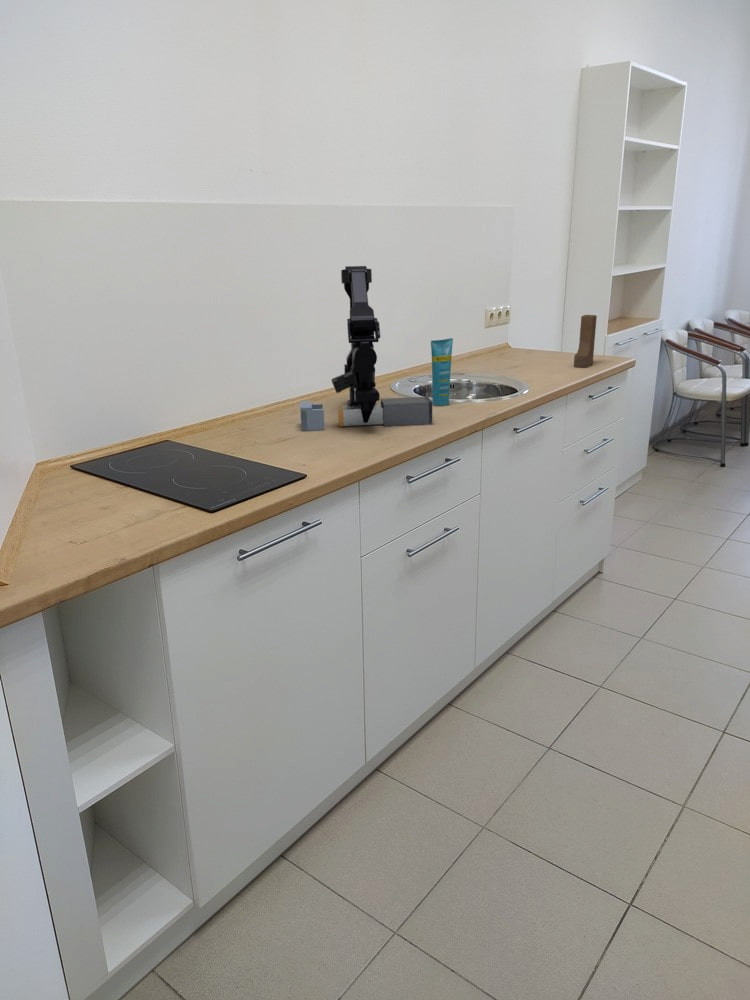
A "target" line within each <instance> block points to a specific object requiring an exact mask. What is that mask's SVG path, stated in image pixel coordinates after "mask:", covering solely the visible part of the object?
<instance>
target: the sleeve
mask: <svg viewBox="0 0 750 1000" xmlns="http://www.w3.org/2000/svg"><path fill="white" fill-rule="evenodd" d="M380 405H383V407H384V424H383V427H401V426H420V425H433V400H431V399H430V397H428V396H415V397H414V396H413V397H412V396H411V397H410V396H409V397H391V398H390V397H389V398H380Z"/></svg>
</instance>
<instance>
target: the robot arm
mask: <svg viewBox="0 0 750 1000" xmlns="http://www.w3.org/2000/svg"><path fill="white" fill-rule="evenodd" d="M344 267H345V268H344V269H341V271H340V274H341V275H340V277H341V278H340V279H341V284H343V289H344V291H345V293H346V295H347V296H348V298H349V318H346V319H347V320H346V321H347V324H346V325H347V339H348V343H349V344H350V346H351V348H350V350H349V352H348V354H347V356H346V364H344V365H343V366H344V367H343V368H344V369H343V370H344V373H342V374H340V375H338V376H336V377H333V378H331V383H332V386H333V388H334V390H335V392H336V393H337V394H338V393H341V392H343V391H344V390H347V389H349V399H347V403H348V406H360V408H361V413H362V417H363V422H364V423H367V422H368V420H369V418H370V415H371V413H372V411H373V408H374V406H375V405H376V403H377V402H379V401H381V397H380V392H379V391H378V389H377V388H376V386H377V385H376V384H377V383H376V367H375V365H376V364H377V362H378V360H377V359H378V356H377V353H376V351H375V349H374V344H373V343H379V339H380V338H381V329H380V328H381V327H380V322H379V320H378V317H375V312H374V309H373V308H372V306H370V305H369V297H368V292H369V290H370V284H371V283H373V278H372V268H368V267H367V266H366V265H353V266H352V265H351V266H350V265H349V266H344Z"/></svg>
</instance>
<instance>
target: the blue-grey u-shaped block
mask: <svg viewBox="0 0 750 1000" xmlns="http://www.w3.org/2000/svg"><path fill="white" fill-rule="evenodd" d="M299 409H300V424H301V431H302V432H308V431H310V432H311V431H325V412H324V408H323V403H322V402H321V403H312V400H305V401H304V400H303V401H302V400H301V401H299Z"/></svg>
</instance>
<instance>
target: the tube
mask: <svg viewBox="0 0 750 1000" xmlns="http://www.w3.org/2000/svg"><path fill="white" fill-rule="evenodd" d="M453 340H454V338H453V337H450V338H444V339H438V340H430V347H431V348H430V350H431V381H432V383H431V385H432V386H431V387H432V390H431V391H432V398H431V399H432V406H433V405H434V406H440V407H444V406H448V405H449V404H450V403H449V402H450V386H451V385H450V384H451V369H452V355H453V354H452V353H453V343H454V341H453Z"/></svg>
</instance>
